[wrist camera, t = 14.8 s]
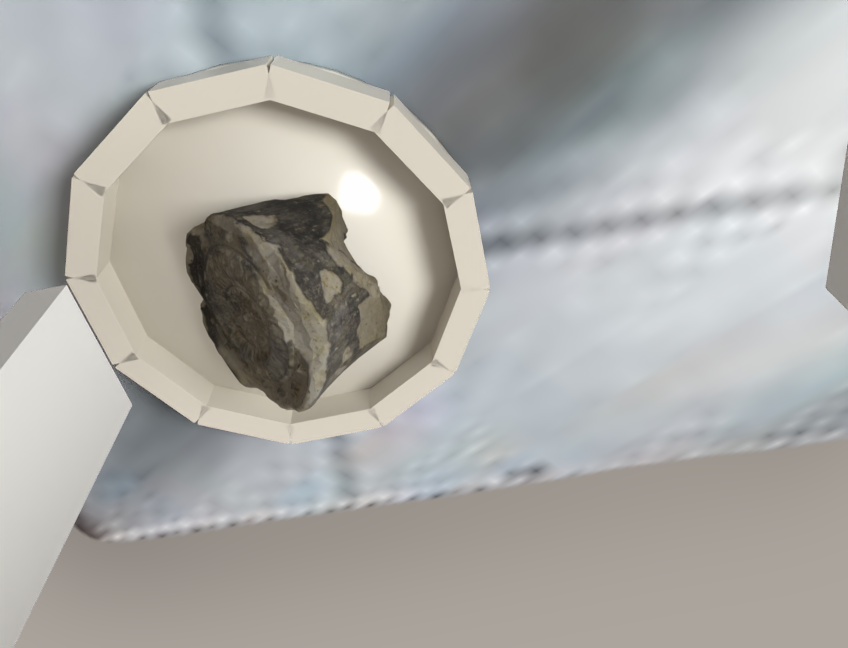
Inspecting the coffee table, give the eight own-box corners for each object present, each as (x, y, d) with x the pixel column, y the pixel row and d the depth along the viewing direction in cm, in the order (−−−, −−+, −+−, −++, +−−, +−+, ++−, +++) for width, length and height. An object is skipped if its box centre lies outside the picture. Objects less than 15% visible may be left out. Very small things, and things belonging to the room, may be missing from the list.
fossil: (134, 235, 36) (159, 276, 27) (284, 146, 38) (351, 157, 30) (247, 392, 41) (298, 468, 32) (374, 305, 43) (453, 354, 35)
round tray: (12, 113, 34) (-17, 130, 32) (437, 13, 32) (441, 22, 30) (180, 437, 45) (169, 467, 42) (504, 374, 43) (511, 402, 41)
